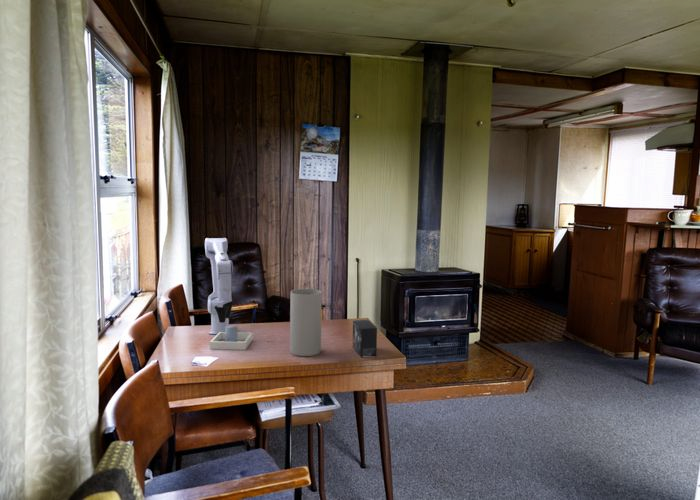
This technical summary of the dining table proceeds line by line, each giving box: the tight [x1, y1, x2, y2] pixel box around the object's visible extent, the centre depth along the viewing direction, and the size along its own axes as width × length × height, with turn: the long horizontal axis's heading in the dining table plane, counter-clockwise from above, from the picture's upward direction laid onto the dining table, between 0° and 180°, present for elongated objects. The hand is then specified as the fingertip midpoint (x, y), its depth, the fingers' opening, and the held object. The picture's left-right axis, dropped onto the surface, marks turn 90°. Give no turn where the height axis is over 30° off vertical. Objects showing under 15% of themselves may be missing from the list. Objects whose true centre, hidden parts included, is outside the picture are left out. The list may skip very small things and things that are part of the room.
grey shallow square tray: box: [209, 332, 254, 351], centre depth 210 cm, size 15×15×3 cm
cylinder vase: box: [289, 288, 323, 357], centre depth 201 cm, size 12×12×25 cm
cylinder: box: [225, 325, 239, 342], centre depth 210 cm, size 5×5×7 cm
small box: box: [352, 319, 378, 358], centre depth 203 cm, size 13×7×12 cm, turn 15°
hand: (224, 320), depth 213 cm, fingers open, 7 cm apart
